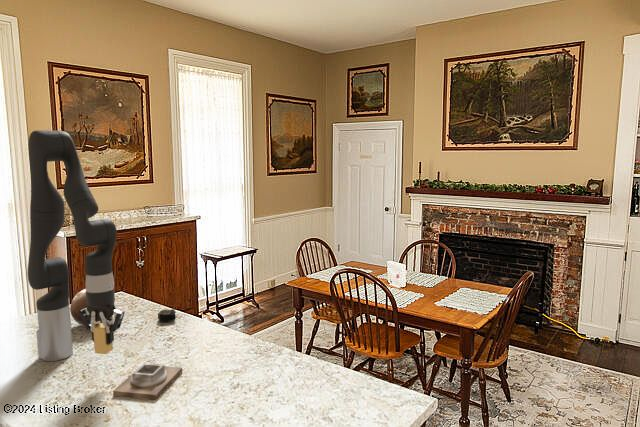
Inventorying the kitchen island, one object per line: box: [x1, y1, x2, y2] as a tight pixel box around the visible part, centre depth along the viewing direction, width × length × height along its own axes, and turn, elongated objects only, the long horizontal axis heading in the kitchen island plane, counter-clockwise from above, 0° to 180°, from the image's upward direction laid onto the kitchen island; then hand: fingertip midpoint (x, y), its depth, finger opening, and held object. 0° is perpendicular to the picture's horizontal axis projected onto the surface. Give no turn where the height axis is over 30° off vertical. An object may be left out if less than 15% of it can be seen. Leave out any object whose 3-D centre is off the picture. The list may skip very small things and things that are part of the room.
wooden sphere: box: [69, 288, 102, 327], centre depth 179 cm, size 15×15×15 cm
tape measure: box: [157, 308, 177, 323], centre depth 185 cm, size 7×7×4 cm
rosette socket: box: [112, 362, 183, 401], centre depth 135 cm, size 13×16×4 cm
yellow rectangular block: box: [93, 323, 114, 355], centre depth 136 cm, size 4×4×8 cm
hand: (103, 342), depth 136 cm, fingers closed on yellow rectangular block, 3 cm apart
